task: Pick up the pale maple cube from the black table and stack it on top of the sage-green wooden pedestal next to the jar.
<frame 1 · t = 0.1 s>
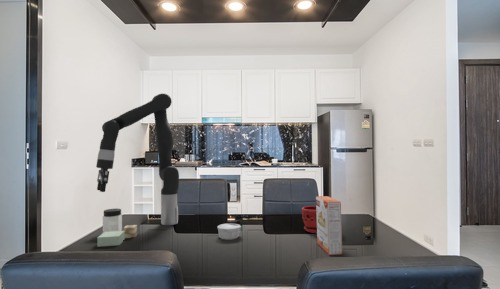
hand: (100, 191, 142), 22 cm above the table, tool pointing down, fingers open, 8 cm apart
jar: (112, 233, 145), on the table
plant pot: (315, 231, 144), on the table
pedestal: (111, 242, 129), on the table
ramekin: (229, 237, 136), on the table
maple cube: (130, 236, 139), on the table
cracker box: (328, 249, 116), on the table
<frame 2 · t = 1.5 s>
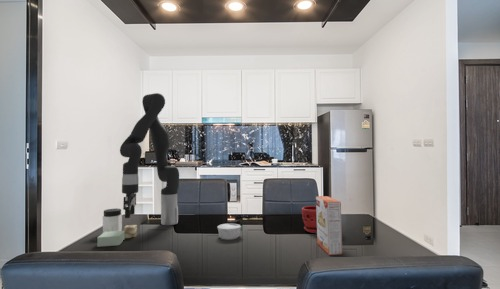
hand: (129, 216, 139), 10 cm above the table, tool pointing down, fingers open, 8 cm apart
nothing on the table moved.
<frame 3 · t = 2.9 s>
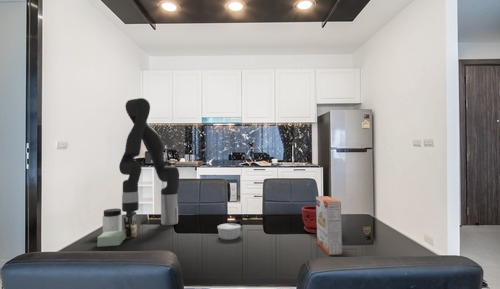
hand: (130, 235, 139), 0 cm above the table, tool pointing down, fingers closed on maple cube, 5 cm apart
maple cube: (130, 236, 139), on the table, touching gripper
everything else where it was.
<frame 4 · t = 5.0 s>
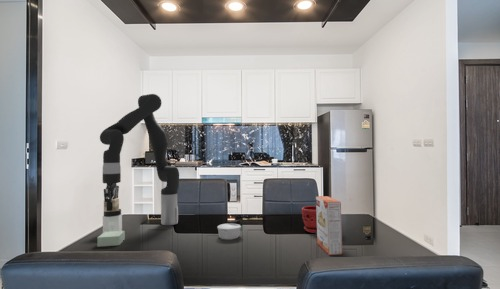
hand: (111, 209, 130), 15 cm above the table, tool pointing down, fingers closed on maple cube, 5 cm apart
maple cube: (111, 210, 130), point 15 cm above the table, touching gripper
everything else where it was.
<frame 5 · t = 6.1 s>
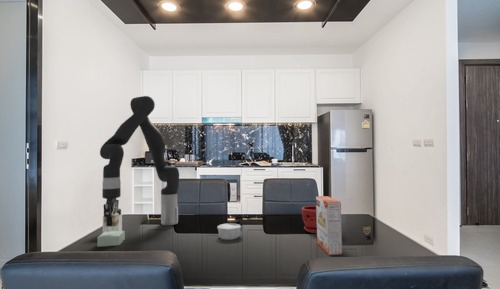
hand: (111, 224, 129), 8 cm above the table, tool pointing down, fingers closed on maple cube, 5 cm apart
maple cube: (111, 225, 129), point 8 cm above the table, touching gripper
everything else where it was.
when the fingers open (6 cm above the table, at t = 7.1 s): maple cube drops 1 cm, resting on pedestal.
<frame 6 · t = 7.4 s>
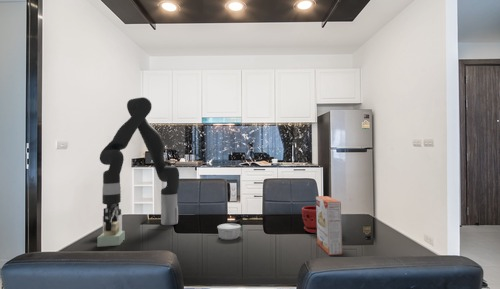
hand: (111, 228, 129), 7 cm above the table, tool pointing down, fingers open, 8 cm apart
maple cube: (111, 233, 129), point 4 cm above the table, touching pedestal
everything else where it was.
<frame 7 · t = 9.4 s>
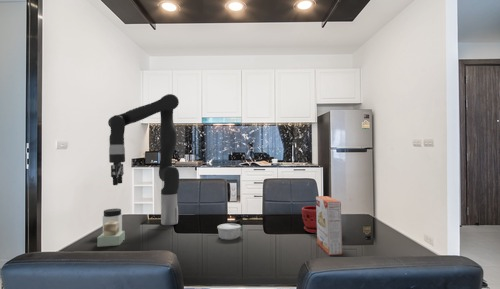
hand: (117, 184, 148), 25 cm above the table, tool pointing down, fingers open, 8 cm apart
nothing on the table moved.
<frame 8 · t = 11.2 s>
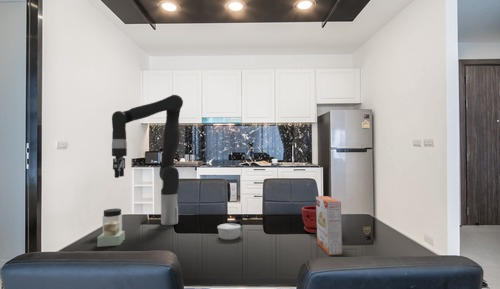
hand: (119, 177, 155), 28 cm above the table, tool pointing down, fingers open, 8 cm apart
nothing on the table moved.
at the end: maple cube inside the target area on the pedestal (0.0 cm from its centre), point 4.0 cm above the pedestal's base; maple cube tilted 0°; the gripper is holding nothing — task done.
